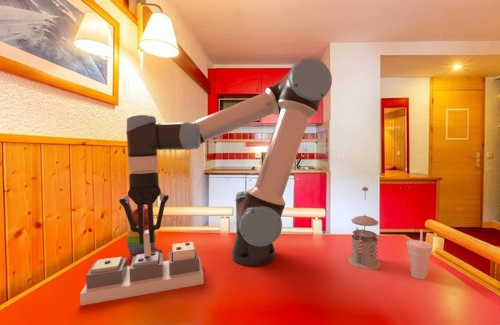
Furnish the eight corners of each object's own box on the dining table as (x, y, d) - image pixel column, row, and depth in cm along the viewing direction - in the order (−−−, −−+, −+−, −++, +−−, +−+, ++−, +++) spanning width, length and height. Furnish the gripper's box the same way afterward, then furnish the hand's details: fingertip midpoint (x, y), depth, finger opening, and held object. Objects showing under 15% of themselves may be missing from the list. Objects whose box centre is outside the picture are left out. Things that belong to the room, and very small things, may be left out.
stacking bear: (146, 264, 84) (144, 211, 83) (120, 262, 86) (117, 210, 85) (164, 251, 95) (162, 204, 94) (139, 249, 97) (137, 203, 96)
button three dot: (159, 264, 76) (158, 250, 76) (158, 274, 71) (157, 259, 70) (137, 268, 75) (136, 253, 74) (134, 277, 69) (134, 262, 69)
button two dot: (192, 254, 79) (192, 240, 79) (194, 262, 74) (194, 247, 73) (172, 257, 78) (172, 243, 77) (173, 265, 72) (172, 250, 72)
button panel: (198, 265, 83) (198, 245, 83) (203, 283, 72) (203, 261, 71) (94, 281, 74) (93, 259, 74) (80, 305, 63) (79, 279, 62)
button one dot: (122, 270, 73) (121, 255, 73) (118, 280, 68) (117, 264, 67) (98, 273, 72) (97, 258, 71) (92, 284, 66) (91, 268, 66)
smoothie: (423, 284, 70) (425, 234, 69) (400, 274, 76) (401, 227, 75) (436, 278, 73) (438, 230, 72) (413, 268, 79) (414, 224, 78)
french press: (384, 261, 84) (386, 186, 82) (373, 274, 75) (374, 191, 74) (354, 253, 91) (355, 183, 89) (341, 264, 82) (341, 187, 81)
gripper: (168, 169, 76) (171, 246, 78) (120, 171, 72) (124, 252, 74) (168, 171, 69) (171, 256, 71) (115, 174, 65) (119, 263, 67)
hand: (147, 254), depth 72 cm, fingers closed
